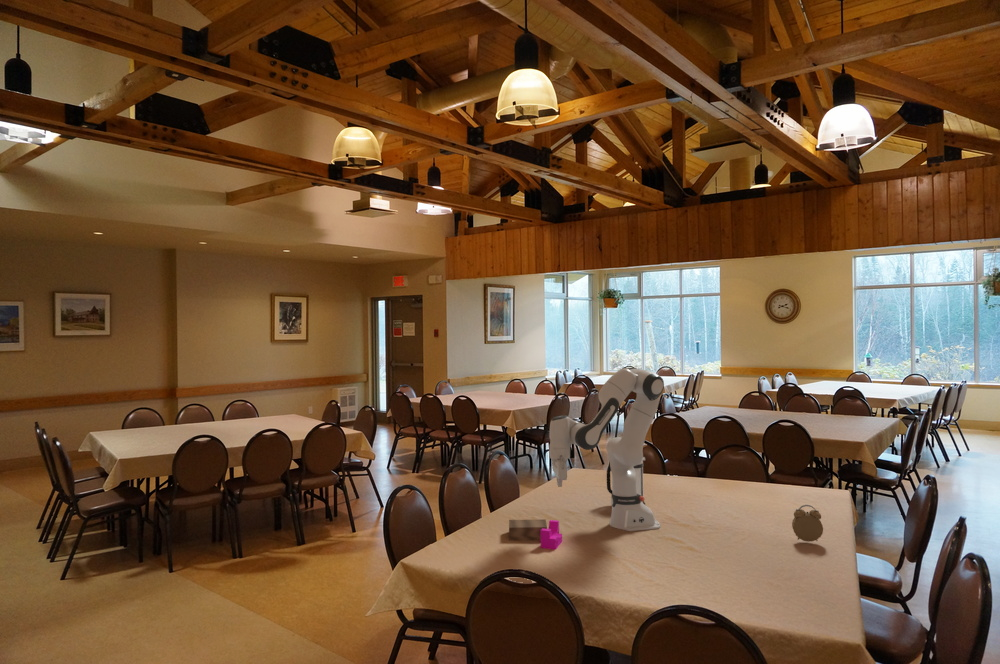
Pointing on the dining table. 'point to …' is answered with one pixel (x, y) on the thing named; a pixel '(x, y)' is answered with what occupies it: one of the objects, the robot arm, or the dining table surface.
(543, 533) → the toy block
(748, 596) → the dining table surface
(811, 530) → the alarm clock
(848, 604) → the dining table surface
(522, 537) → the walnut plinth
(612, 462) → the robot arm
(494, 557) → the dining table surface
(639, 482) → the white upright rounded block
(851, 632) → the dining table surface
